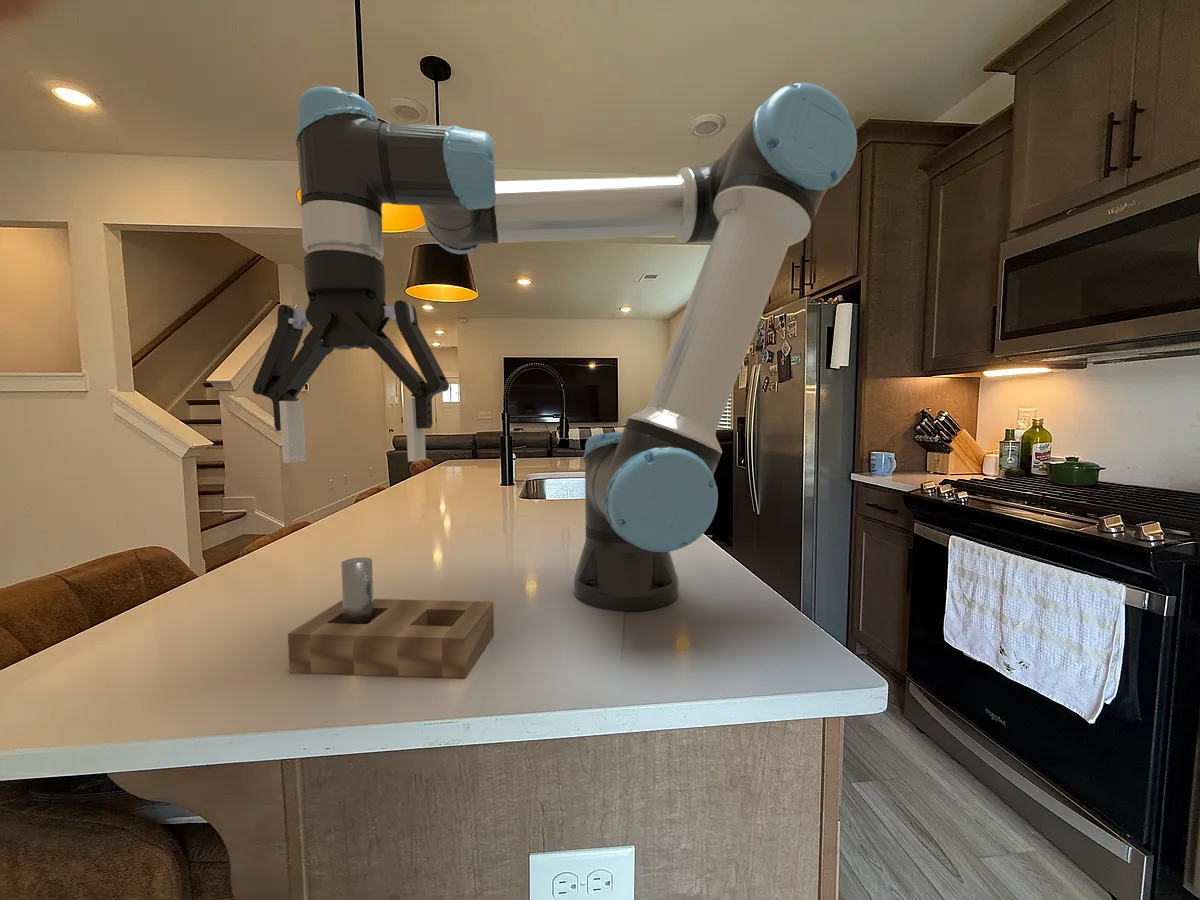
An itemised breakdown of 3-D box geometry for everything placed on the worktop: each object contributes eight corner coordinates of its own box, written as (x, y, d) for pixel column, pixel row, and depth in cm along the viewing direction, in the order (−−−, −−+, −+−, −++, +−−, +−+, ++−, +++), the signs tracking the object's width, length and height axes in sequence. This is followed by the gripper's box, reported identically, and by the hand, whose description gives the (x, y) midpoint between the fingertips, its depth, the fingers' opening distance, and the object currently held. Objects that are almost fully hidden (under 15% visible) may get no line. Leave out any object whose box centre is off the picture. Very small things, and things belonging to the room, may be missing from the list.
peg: (380, 645, 57) (377, 557, 57) (366, 658, 55) (362, 565, 54) (354, 644, 58) (351, 557, 57) (339, 657, 55) (335, 565, 54)
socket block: (493, 635, 60) (493, 601, 60) (464, 678, 50) (464, 638, 50) (346, 631, 61) (345, 598, 61) (289, 672, 51) (287, 633, 51)
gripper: (473, 263, 56) (480, 456, 58) (258, 272, 58) (270, 459, 60) (448, 240, 49) (456, 462, 50) (202, 251, 51) (216, 465, 52)
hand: (355, 461), depth 55 cm, fingers open, 13 cm apart
